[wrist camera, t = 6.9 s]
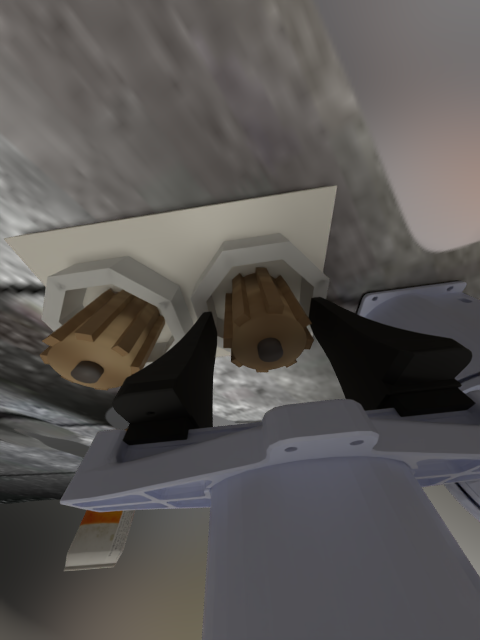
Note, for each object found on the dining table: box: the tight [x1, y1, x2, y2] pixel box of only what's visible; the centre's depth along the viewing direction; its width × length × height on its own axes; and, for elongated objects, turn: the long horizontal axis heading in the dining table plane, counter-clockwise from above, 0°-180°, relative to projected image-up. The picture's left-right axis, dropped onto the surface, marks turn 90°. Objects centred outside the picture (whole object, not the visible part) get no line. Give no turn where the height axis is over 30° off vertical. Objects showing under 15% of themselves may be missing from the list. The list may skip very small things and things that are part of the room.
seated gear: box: [40, 289, 165, 390], centre depth 13 cm, size 5×5×7 cm
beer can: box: [64, 426, 135, 571], centre depth 27 cm, size 6×6×15 cm
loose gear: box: [223, 267, 314, 372], centre depth 12 cm, size 5×5×7 cm
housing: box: [4, 186, 337, 368], centre depth 15 cm, size 22×14×4 cm, turn 97°
